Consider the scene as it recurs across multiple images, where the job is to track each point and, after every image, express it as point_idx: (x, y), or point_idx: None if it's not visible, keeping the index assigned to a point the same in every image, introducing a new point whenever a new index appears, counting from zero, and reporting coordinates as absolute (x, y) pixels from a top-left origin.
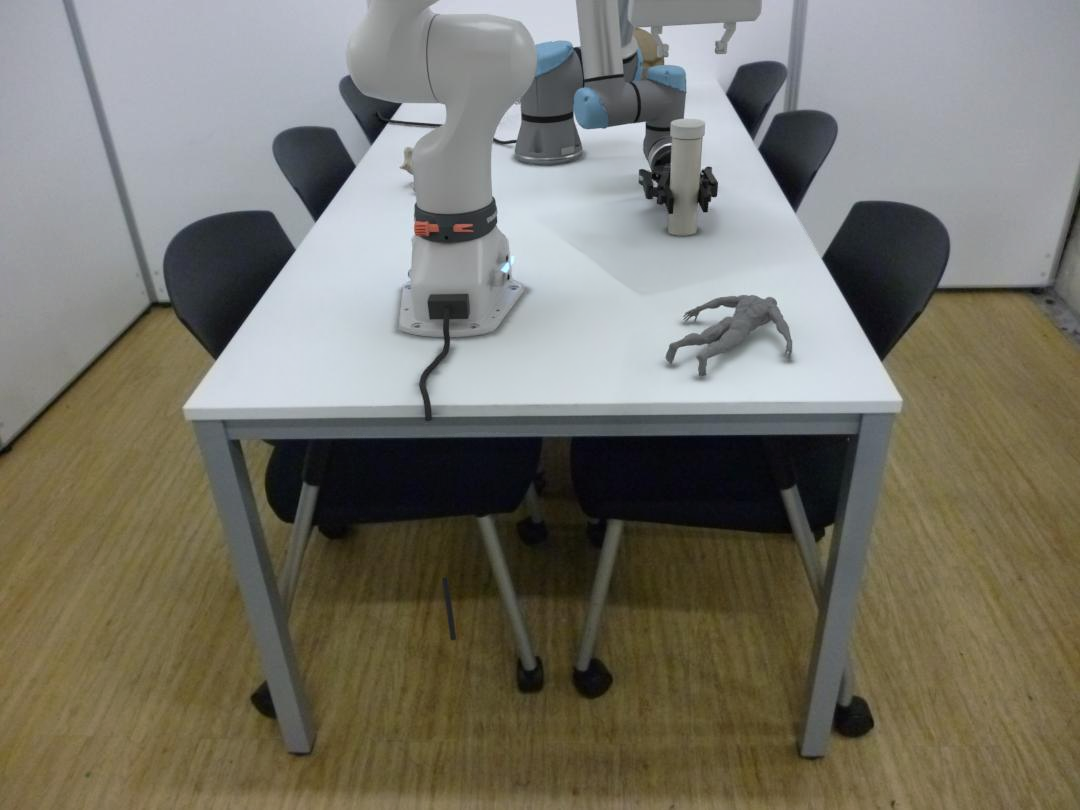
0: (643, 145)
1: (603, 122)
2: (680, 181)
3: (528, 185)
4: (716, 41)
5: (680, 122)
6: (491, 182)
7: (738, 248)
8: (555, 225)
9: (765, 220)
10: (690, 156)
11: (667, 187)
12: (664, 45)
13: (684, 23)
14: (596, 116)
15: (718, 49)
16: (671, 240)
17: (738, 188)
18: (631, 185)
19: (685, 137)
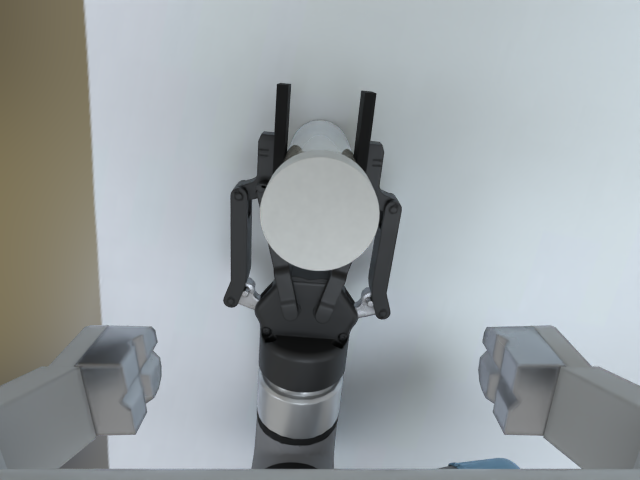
0: None
1: (469, 464)
2: (339, 141)
3: None
4: (130, 413)
5: (343, 228)
6: None
7: (227, 27)
8: (553, 226)
9: (142, 175)
10: (318, 145)
11: None
12: (549, 374)
13: (469, 473)
14: None
15: (137, 335)
16: (353, 101)
17: (164, 348)
18: (357, 396)
19: (339, 154)
